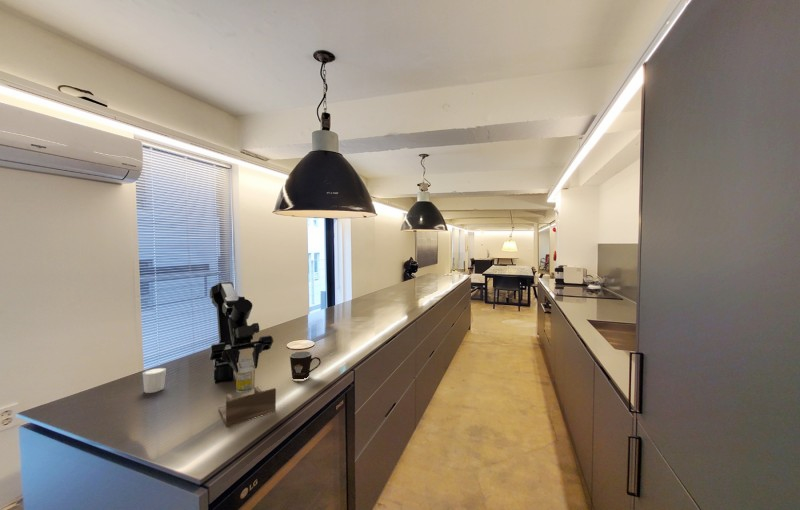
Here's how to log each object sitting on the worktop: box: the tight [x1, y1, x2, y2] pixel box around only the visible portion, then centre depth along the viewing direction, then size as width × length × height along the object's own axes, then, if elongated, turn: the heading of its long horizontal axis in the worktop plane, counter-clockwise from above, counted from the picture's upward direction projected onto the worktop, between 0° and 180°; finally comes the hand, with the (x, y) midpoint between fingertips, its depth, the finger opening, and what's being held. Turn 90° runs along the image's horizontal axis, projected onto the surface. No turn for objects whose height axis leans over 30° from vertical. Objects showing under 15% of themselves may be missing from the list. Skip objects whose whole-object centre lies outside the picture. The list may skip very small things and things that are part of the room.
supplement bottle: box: [235, 358, 256, 394], centre depth 98 cm, size 5×5×10 cm
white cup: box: [142, 367, 167, 394], centre depth 112 cm, size 7×7×7 cm
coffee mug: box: [289, 350, 322, 379], centre depth 123 cm, size 12×9×10 cm
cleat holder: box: [217, 386, 277, 428], centre depth 97 cm, size 12×14×7 cm
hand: (246, 369), depth 97 cm, fingers closed on supplement bottle, 5 cm apart
